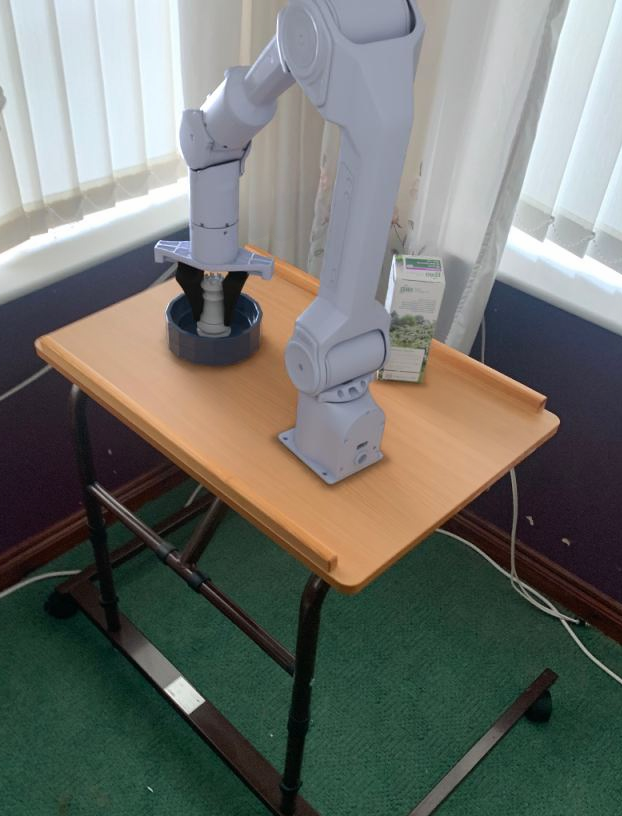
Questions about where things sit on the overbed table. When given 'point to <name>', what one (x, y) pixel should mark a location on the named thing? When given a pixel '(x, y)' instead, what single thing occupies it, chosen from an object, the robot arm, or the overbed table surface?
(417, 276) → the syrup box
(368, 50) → the robot arm
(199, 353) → the bowl
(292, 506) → the overbed table surface
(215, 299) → the rook chess piece
